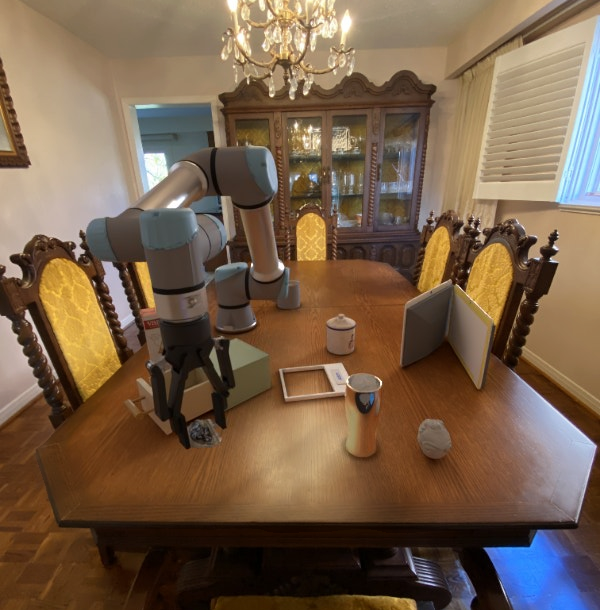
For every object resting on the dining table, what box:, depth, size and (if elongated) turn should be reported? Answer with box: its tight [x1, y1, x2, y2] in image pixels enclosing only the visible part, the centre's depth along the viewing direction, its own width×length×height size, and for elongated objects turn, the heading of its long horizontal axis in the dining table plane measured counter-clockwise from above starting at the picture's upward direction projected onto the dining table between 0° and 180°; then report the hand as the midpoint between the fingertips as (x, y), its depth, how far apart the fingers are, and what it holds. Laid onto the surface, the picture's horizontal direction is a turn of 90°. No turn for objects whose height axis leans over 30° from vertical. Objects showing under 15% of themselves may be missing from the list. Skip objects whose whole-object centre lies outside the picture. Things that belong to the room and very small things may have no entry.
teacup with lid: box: [325, 313, 357, 356], centre depth 109 cm, size 12×9×12 cm
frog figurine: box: [416, 418, 452, 460], centre depth 66 cm, size 6×7×7 cm
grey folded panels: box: [399, 279, 497, 390], centre depth 100 cm, size 35×22×20 cm, turn 174°
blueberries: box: [187, 418, 222, 449], centre depth 62 cm, size 7×8×2 cm
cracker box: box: [140, 306, 172, 371], centre depth 92 cm, size 14×6×21 cm, turn 117°
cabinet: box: [197, 337, 272, 412], centre depth 88 cm, size 16×15×10 cm
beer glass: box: [344, 372, 383, 458], centre depth 66 cm, size 7×7×15 cm
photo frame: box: [278, 362, 350, 403], centre depth 92 cm, size 15×1×18 cm
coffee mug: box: [270, 279, 301, 310], centre depth 149 cm, size 13×10×10 cm
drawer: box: [123, 368, 215, 436], centre depth 79 cm, size 19×13×8 cm
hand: (203, 434), depth 62 cm, fingers closed on blueberries, 6 cm apart
